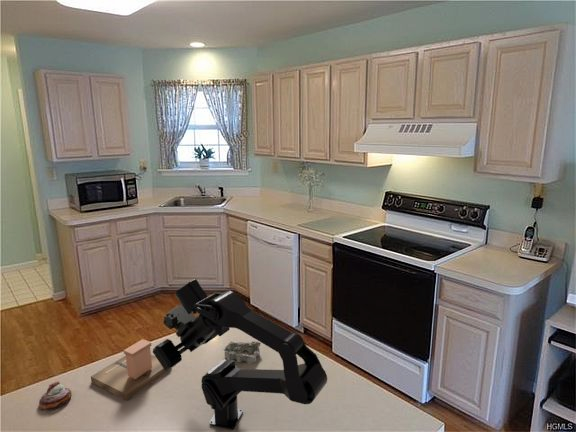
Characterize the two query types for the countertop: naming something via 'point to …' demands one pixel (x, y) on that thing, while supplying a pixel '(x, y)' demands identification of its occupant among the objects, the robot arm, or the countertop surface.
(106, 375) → the fader track
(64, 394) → the pastry
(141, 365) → the handle
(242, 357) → the egg carton
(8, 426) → the countertop surface
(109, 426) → the countertop surface
